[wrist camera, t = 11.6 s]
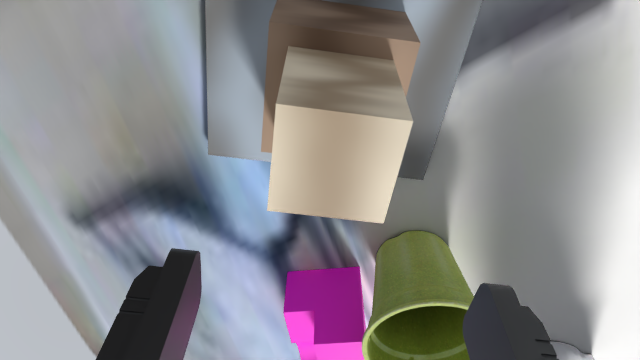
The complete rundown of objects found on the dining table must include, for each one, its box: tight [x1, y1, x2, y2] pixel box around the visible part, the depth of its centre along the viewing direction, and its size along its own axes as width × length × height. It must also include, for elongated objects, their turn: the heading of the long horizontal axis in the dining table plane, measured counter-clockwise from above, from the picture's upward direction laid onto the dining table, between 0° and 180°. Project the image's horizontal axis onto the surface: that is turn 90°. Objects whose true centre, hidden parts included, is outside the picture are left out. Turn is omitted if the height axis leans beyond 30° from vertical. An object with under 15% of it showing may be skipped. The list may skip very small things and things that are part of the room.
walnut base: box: [205, 0, 483, 180], centre depth 25 cm, size 15×15×6 cm
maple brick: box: [267, 46, 413, 224], centre depth 20 cm, size 5×5×6 cm
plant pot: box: [362, 231, 474, 360], centre depth 34 cm, size 9×9×9 cm
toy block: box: [283, 267, 366, 360], centre depth 40 cm, size 15×6×8 cm, turn 7°
